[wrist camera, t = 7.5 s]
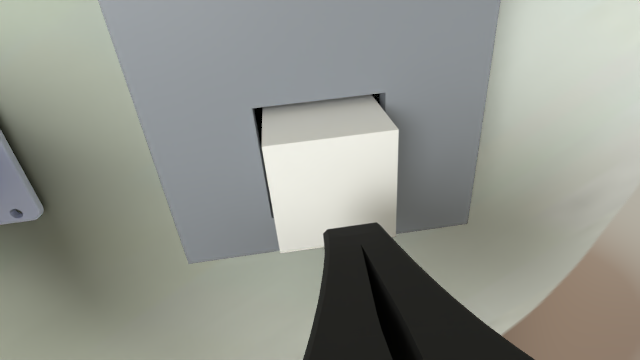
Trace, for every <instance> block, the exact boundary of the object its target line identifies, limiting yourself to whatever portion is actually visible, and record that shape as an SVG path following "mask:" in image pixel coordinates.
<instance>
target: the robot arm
mask: <svg viewBox="0 0 640 360" xmlns="http://www.w3.org/2000/svg"><path fill="white" fill-rule="evenodd" d="M15 209H18V210H20V211H21V212H22V213H19V212H17V211H16V210H15ZM43 211H44V209H43V206H42V204H41V202H40V200H39V199H38V197H37V195H36V193H35V191H34V189H33V188H32V186H31V184H30V182H29V180H28V179H27V177H26V175H25V173H24V171H23V169H22V168H21V166H20V164H19V162H18V160H17V159H16V157H15V155H14V153H13V151H12V149H11V148H10V146H9V144H8V142H7V140H6V139H5V137H4V135H3V133H2V131H1V129H0V225H2V224H9V223H17V222H25V221H32V220H36V219H38V218H39V217H40V216H41V215H42V214H43ZM323 239H324V249H325V258H324V269H323V276H322V283H321V289H320V295H319V300H318V305H317V309H316V313H315V317H314V322H313V326H312V330H311V334H310V338H309V341H308V345H307V348H306V352H305V355H304V358H303V360H534V359H533V358H532V357H530V356H529V355H527V354H526V353H524V352H523V351H522V350H520V349H519V348H517V347H516V346H514V345H513V344H512V343H510V342H509V341H508V340H506V339H505V338H503V337H502V336H501V335H500V334H498V333H497V332H495V331H494V330H493V329H491V328H490V327H489V326H488V325H486V324H485V323H484V322H483V321H481V320H480V319H479V318H477V317H476V316H475V315H474V314H473V313H471V312H470V311H469V310H468V309H466V308H465V307H464V306H463V305H462V304H461V303H459V302H458V301H457V300H456V299H455V298H454V297H452V296H451V295H450V294H449V293H448V292H447V291H446V290H444V289H443V288H442V287H441V286H440V285H439V284H438V283H437V282H436V281H435V280H434V279H432V278H431V277H430V276H429V275H428V274H427V273H426V272H425V271H424V270H423V269H422V268H421V267H420V266H419V265H418V264H417V263H416V262H415V261H414V260H413V259H412V258H411V257H410V256H409V255H408V254H407V253H406V252H405V251H404V250H403V249H402V248H401V247H400V246H399V245H398V244H397V243H396V242H395V241H394V240H393V238H392V237H391V236H390V235H389V234H388V233H387V232H386V231H385V230H384V228H383V227H382V226H381V225H380V224H378V223H377V222H375V223H368V224H361V225H354V226H347V227H340V228H333V229H327V230H326V231H325V232H324V233H323Z"/></svg>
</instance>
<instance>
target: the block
mask: <svg viewBox="0 0 640 360" xmlns="http://www.w3.org/2000/svg"><path fill="white" fill-rule="evenodd" d="M398 138H399V129H398V128H397V127H396V125H395V124H394V123H393V122H392V120H391V119H390V118H389V117H388V115H387V114H386V113H385V111H384V110H383V109H382V108H381V106H380V105H379V104H378V103H377V101H376V100H375V99H374V97H373V96H372V95H371V94H370V95H361V96H353V97H344V98H336V99H327V100H319V101H311V102H302V103H294V104H285V105H277V106H268V107H262V152H263V157H264V163H265V169H266V175H267V180H268V186H269V192H270V197H271V203H272V209H273V215H274V220H275V226H276V232H277V237H278V243H279V249H280V253H286V252H293V251H300V250H307V249H314V248H321V247H324V239H323V233H324V232H325V231H326V230H327V229H333V228H340V227H347V226H354V225H361V224H368V223H375V222H377V223H378V224H380V225H381V226H382V227H383V228H384V230H385V231H386V232H387V233H388V234H389V235H390V236H391V237H396V208H397V173H398Z"/></svg>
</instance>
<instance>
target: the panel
mask: <svg viewBox="0 0 640 360" xmlns="http://www.w3.org/2000/svg"><path fill="white" fill-rule="evenodd" d="M98 1H99V4H100V7H101V10H102V13H103V16H104V19H105V22H106V25H107V28H108V31H109V33H110V36H111V39H112V42H113V45H114V48H115V51H116V54H117V57H118V60H119V63H120V65H121V68H122V71H123V74H124V77H125V80H126V83H127V86H128V89H129V92H130V95H131V97H132V100H133V103H134V106H135V109H136V112H137V115H138V118H139V121H140V124H141V127H142V129H143V132H144V135H145V138H146V141H147V144H148V147H149V150H150V153H151V156H152V159H153V161H154V164H155V167H156V170H157V173H158V176H159V179H160V182H161V185H162V188H163V191H164V194H165V196H166V199H167V202H168V205H169V208H170V211H171V214H172V217H173V220H174V223H175V226H176V228H177V231H178V234H179V237H180V240H181V243H182V246H183V249H184V252H185V255H186V258H187V260H188V263H189V264H191V263H198V262H205V261H211V260H218V259H225V258H232V257H239V256H246V255H253V254H260V253H267V252H274V251H280V249H279V243H278V237H277V232H276V226H275V220H274V215H273V209H272V203H271V197H270V192H269V187H268V185H267V179H266V174H265V168H264V162H263V157H262V151H261V145H260V140H259V134H258V128H257V123H256V117H255V111H254V108H260V107H268V106H277V105H285V104H294V103H302V102H311V101H319V100H327V99H336V98H344V97H353V96H361V95H370V94H378V93H380V106H381V108H382V109H383V110H384V111H385V113H386V114H387V115H388V117H389V118H390V119H391V120H392V122H393V123H394V124H395V125H396V127H397V128H398V129H399V138H398V173H397V208H396V234H399V233H406V232H413V231H420V230H427V229H434V228H441V227H448V226H455V225H462V224H467V223H468V216H469V210H470V203H471V196H472V189H473V183H474V176H475V169H476V162H477V156H478V149H479V142H480V135H481V129H482V122H483V115H484V108H485V102H486V95H487V88H488V81H489V75H490V68H491V61H492V54H493V48H494V41H495V34H496V27H497V21H498V14H499V7H500V0H98Z"/></svg>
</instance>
